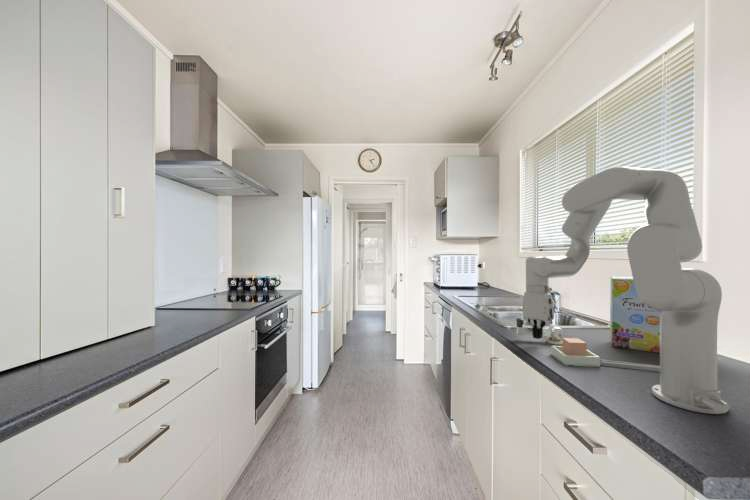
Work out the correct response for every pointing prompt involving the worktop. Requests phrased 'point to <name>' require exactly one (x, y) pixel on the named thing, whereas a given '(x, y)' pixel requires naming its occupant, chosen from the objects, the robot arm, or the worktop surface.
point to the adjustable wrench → (630, 365)
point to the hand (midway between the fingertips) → (537, 337)
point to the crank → (550, 331)
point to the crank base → (553, 342)
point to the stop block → (574, 347)
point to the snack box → (632, 318)
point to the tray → (575, 358)
